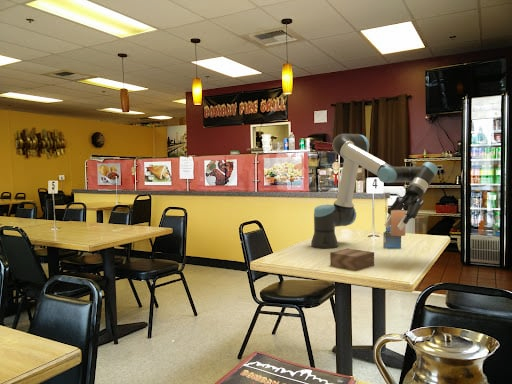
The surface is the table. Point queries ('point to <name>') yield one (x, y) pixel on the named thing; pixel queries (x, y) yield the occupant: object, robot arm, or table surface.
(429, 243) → the table surface
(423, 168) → the robot arm
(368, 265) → the walnut block
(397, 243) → the label tape box
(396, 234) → the terracotta canister
